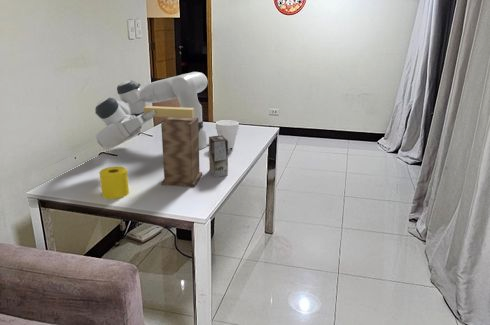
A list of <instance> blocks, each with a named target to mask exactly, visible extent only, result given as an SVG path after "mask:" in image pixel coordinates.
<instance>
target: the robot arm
mask: <svg viewBox="0 0 490 325" xmlns="http://www.w3.org/2000/svg"><path fill="white" fill-rule="evenodd" d="M208 82H209V81H208V78H207V76H206V75H205V74H204V73H203V72H199V71H192V72H188V73H182V74H180V75H175V76H172V77H171V76H170V77H168V78H164V79H160V80H156V81H152V82H150V83H146V84H145V85H143V86H141V85H142V84H141V83H138V82H136V81H134V80H125V81H122V82H120V83H119V84H118V85H117V87H116V92H117V94H118V96H119V99H115V98H113V97H106V98H104V99H102V100H101V101H100V100H99V102H98V103H97V105H96V106H95V114H96V116H98V118H100V119H101V121H102V122H103V123H104V124H105V127H104V128H103V129H101V130H100V131H99V132H98V133H96V134H95V138H96V141H97V142H98V144H99V145H100V146H101V147H102V148H103V149H105V150H107V149H111V148H114V147H116V146H118V145H120V144H122V143H124V141H127V140H128V139H131V138H132V137H134V136H136V135H138V134H140V132H141V129H142V125H144V124H145V123H147V122H149V121H151V119H153V118H154V117H151V116H153V115H155V114H156V113H157V112H156V111H155V110H153V111H151V112H149V113H147V114H145V113H144V107H146V106H147V104H146V103H149V104H153V103H154V104H155V103H162V102H166V101H170V100H175V99H177V100H178V103H179V107H182V108H194V116H195V117H198V130H199V150H203V149H205V148H206V147H209V141H207V140H208V139H207V131H206V129H205V128H204V121H203V106H202V104H201V103H200V101H199V99H198V93H201V92H203V91H204V90H205V89H206V88H207V87H208ZM144 114H145V115H144Z"/></svg>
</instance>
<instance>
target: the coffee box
mask: <svg viewBox="0 0 490 325" xmlns="http://www.w3.org/2000/svg"><path fill="white" fill-rule="evenodd" d="M208 143H209V145H208V150H209V151H208V153H209V155H208V156H209V159H208V160H209V163H208V164H209V171H210V173H211V174H212V175H213V176H214V177H215V178H217V177H225V176H228V174H229V165H228V164H229V163H228V162H229V161H228V160H229V159H228V157H229V149H228V140H227V139H225V138H224V137H223V136H222V135H221V136H218V135H212V136H208Z"/></svg>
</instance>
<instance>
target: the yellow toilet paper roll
mask: <svg viewBox="0 0 490 325" xmlns="http://www.w3.org/2000/svg"><path fill="white" fill-rule="evenodd" d="M128 176H129V175H128V169H127V168H126V167H124V166H108V167H105V168H103V169H101V170H100V171H99V179H100V180H99V181H100V188H101V195H102V197H103V198H104V199H110V200H116V199H121V198H124V197H127V196H128V195H129V194H130V189H129V179H128V178H129V177H128Z"/></svg>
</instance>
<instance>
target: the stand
mask: <svg viewBox="0 0 490 325" xmlns="http://www.w3.org/2000/svg"><path fill="white" fill-rule="evenodd" d="M160 124H161V126H160V128H161V143H162V146H161V147H162V160H163V162H162V163H163V175H164V176H163V180H161V182H160V183H161V186H174V187H175V186H176V187H190V188H195V187H196V185H197V184H198V182H199V181H200V179H201V178H202V176H203V172H202V171H200V149H199V130H198V117H193V118H171V117H166V118H165V120H163V121H162V122H161V123H160Z"/></svg>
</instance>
